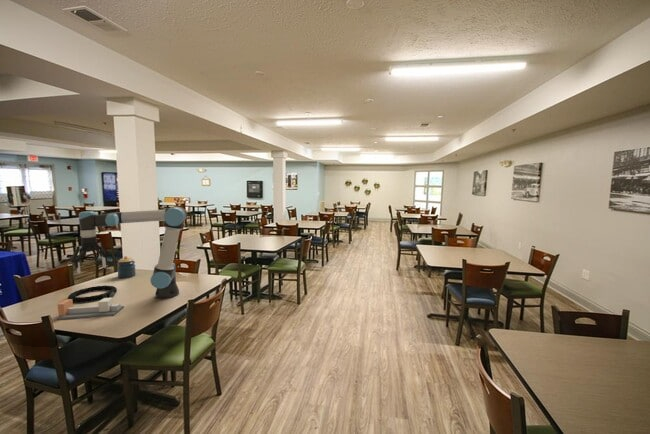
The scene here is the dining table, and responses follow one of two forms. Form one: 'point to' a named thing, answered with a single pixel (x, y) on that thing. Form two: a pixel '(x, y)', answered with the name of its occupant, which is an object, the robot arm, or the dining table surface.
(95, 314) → the rail board
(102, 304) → the block
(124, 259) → the canister
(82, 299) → the cable lock
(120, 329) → the dining table surface
